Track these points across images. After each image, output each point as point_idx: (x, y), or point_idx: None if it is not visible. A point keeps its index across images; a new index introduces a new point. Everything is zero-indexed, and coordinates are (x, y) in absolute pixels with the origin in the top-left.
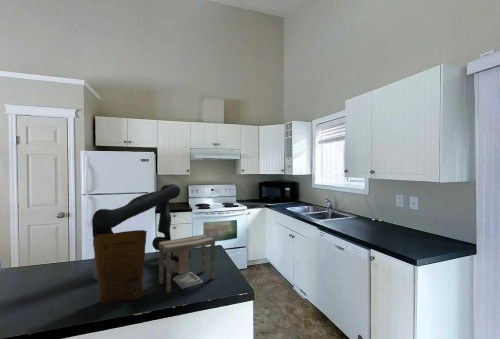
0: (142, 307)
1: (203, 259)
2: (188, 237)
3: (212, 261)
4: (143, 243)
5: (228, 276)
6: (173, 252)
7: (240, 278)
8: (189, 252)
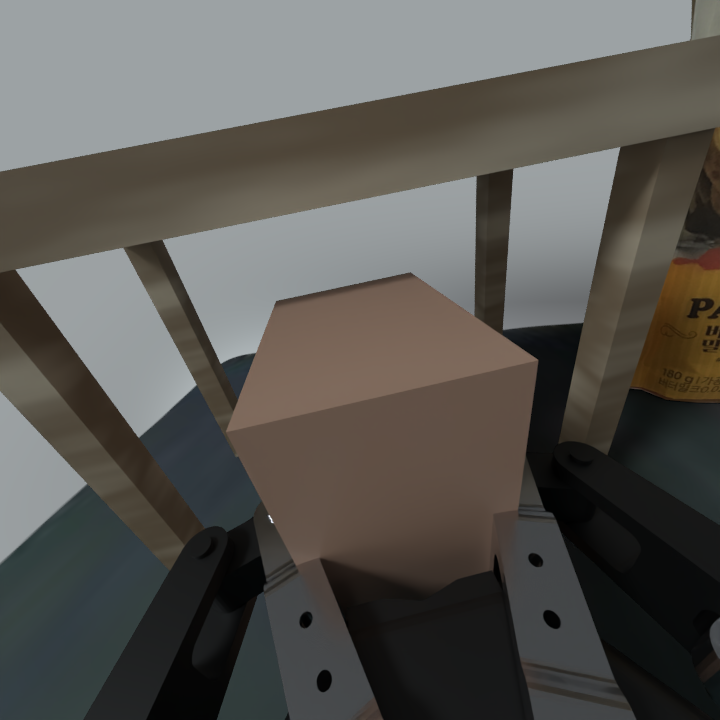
0: (562, 337)
1: (165, 486)
2: (206, 138)
3: (214, 356)
4: (700, 4)
5: (172, 448)
6: (552, 574)
7: (161, 419)
8: (213, 531)
